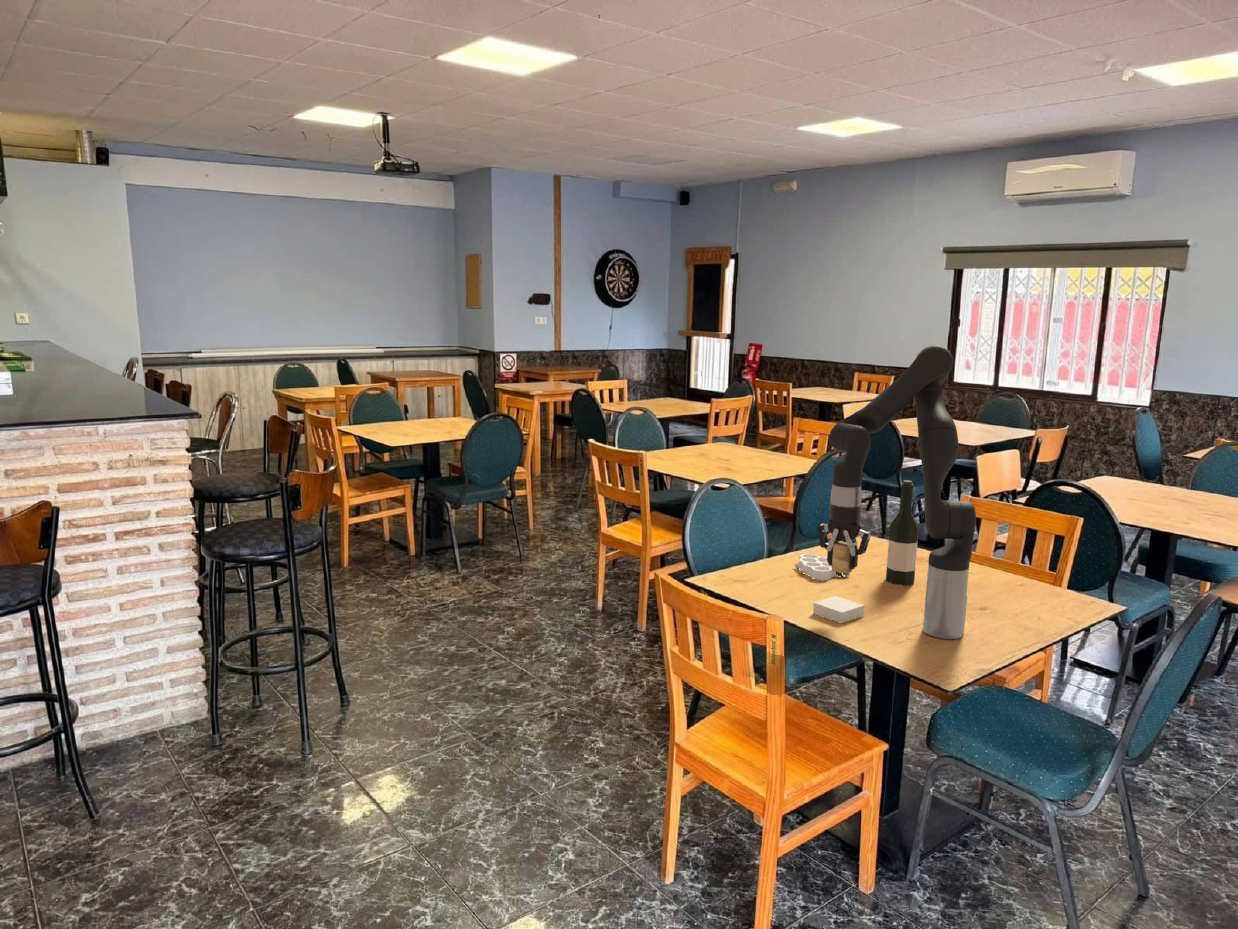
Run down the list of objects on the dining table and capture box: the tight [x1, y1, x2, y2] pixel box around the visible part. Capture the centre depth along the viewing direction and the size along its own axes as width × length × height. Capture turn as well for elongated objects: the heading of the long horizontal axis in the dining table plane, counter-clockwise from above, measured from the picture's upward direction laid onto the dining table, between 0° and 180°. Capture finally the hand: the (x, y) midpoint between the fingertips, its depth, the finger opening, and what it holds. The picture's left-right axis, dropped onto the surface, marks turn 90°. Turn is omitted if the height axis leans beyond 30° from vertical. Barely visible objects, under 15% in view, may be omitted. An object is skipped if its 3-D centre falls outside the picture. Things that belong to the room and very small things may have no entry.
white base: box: [812, 595, 865, 624], centre depth 216 cm, size 9×9×3 cm
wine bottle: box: [885, 479, 920, 587], centre depth 242 cm, size 8×8×30 cm
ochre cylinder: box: [832, 541, 853, 574], centre depth 213 cm, size 5×5×7 cm
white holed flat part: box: [793, 553, 851, 581], centre depth 252 cm, size 3×18×15 cm
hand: (841, 566), depth 214 cm, fingers closed on ochre cylinder, 5 cm apart
